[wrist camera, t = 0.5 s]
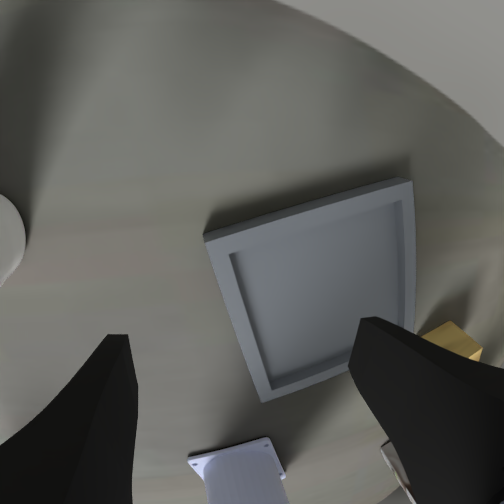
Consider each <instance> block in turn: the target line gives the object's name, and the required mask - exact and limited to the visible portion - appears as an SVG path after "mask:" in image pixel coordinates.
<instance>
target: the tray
mask: <svg viewBox="0 0 504 504" xmlns="http://www.w3.org/2000/svg"><path fill="white" fill-rule="evenodd" d="M203 238H204V242H205V245H206V248H207V251H208V254H209V258H210V261H211V264H212V267H213V270H214V273H215V276H216V278H217V281H218V284H219V287H220V290H221V293H222V296H223V299H224V302H225V305H226V308H227V311H228V313H229V316H230V319H231V322H232V325H233V328H234V330H235V333H236V336H237V339H238V342H239V344H240V347H241V350H242V353H243V355H244V358H245V361H246V364H247V366H248V369H249V372H250V374H251V377H252V380H253V382H254V385H255V388H256V390H257V393H258V396H259V398H260V401H261V403H264V402H267V401H270V400H273V399H275V398H278V397H281V396H284V395H287V394H290V393H293V392H295V391H298V390H301V389H303V388H306V387H309V386H311V385H314V384H316V383H319V382H321V381H324V380H326V379H329V378H331V377H334V376H336V375H339V374H341V373H343V372H346V371H348V370H349V368H348V363H349V360H350V356H351V353H352V349H353V345H354V342H355V338H356V334H357V330H358V326H359V323H360V318H366V317H373V316H377V317H379V318H382V319H384V320H387V321H389V322H391V323H393V324H395V325H398V326H400V327H402V328H404V329H406V330H408V331H410V332H412V333H413V332H414V318H415V297H416V229H415V209H414V194H413V182H412V180H408V179H405V178H402V177H395V178H391V179H388V180H384V181H380V182H376V183H373V184H369V185H366V186H362V187H358V188H355V189H351V190H348V191H344V192H340V193H337V194H333V195H330V196H326V197H323V198H319V199H316V200H312V201H309V202H306V203H302V204H299V205H295V206H292V207H289V208H285V209H282V210H279V211H275V212H272V213H269V214H265V215H262V216H259V217H255V218H252V219H249V220H246V221H242V222H239V223H236V224H233V225H229V226H226V227H223V228H220V229H217V230H213V231H210V232H207V233H204V234H203Z"/></svg>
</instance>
